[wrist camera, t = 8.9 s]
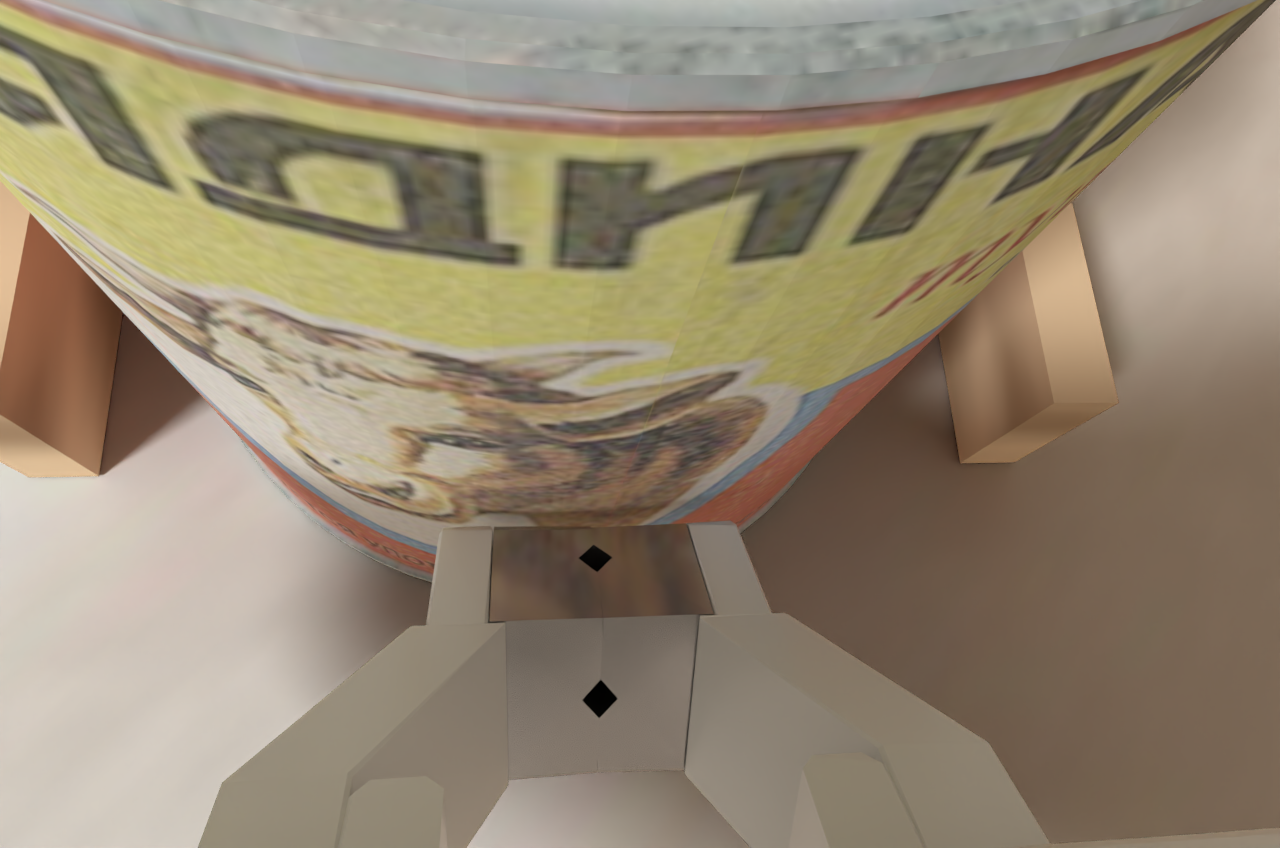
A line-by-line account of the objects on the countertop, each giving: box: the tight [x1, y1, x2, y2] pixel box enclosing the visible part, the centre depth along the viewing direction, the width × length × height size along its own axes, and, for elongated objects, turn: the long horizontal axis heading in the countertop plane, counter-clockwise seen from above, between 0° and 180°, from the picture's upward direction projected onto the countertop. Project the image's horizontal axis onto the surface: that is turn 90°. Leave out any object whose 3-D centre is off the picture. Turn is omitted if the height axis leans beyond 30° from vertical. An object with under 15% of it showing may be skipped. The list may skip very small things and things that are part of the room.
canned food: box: [0, 0, 1275, 583], centre depth 10 cm, size 11×11×12 cm
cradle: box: [0, 181, 1119, 477], centre depth 14 cm, size 11×16×5 cm
